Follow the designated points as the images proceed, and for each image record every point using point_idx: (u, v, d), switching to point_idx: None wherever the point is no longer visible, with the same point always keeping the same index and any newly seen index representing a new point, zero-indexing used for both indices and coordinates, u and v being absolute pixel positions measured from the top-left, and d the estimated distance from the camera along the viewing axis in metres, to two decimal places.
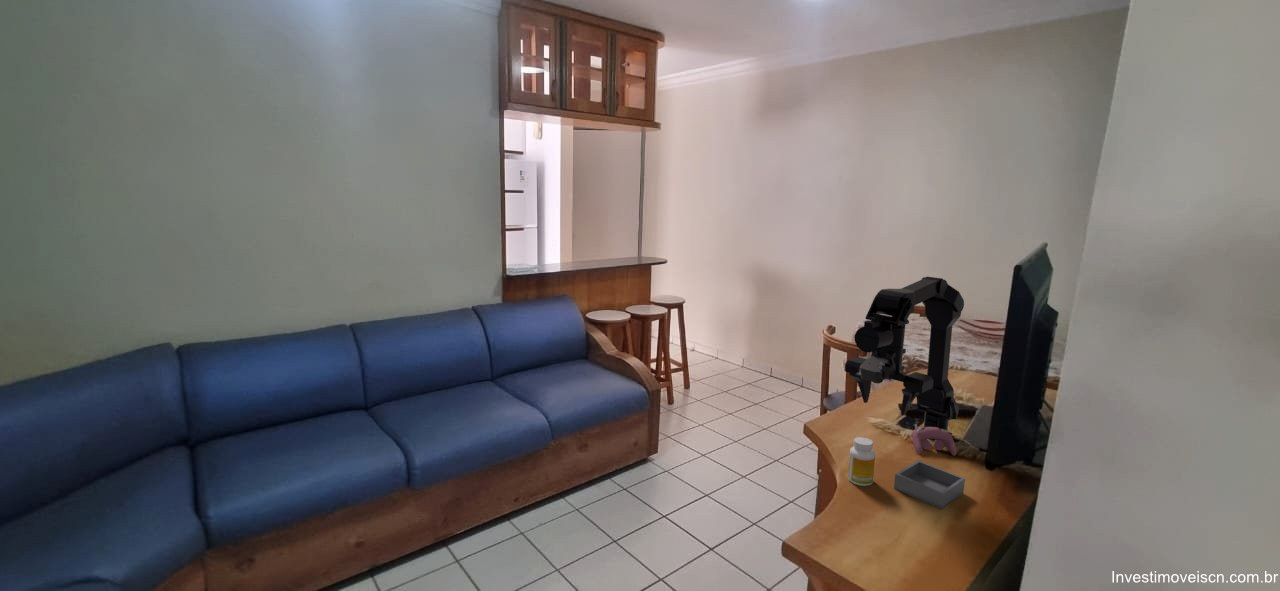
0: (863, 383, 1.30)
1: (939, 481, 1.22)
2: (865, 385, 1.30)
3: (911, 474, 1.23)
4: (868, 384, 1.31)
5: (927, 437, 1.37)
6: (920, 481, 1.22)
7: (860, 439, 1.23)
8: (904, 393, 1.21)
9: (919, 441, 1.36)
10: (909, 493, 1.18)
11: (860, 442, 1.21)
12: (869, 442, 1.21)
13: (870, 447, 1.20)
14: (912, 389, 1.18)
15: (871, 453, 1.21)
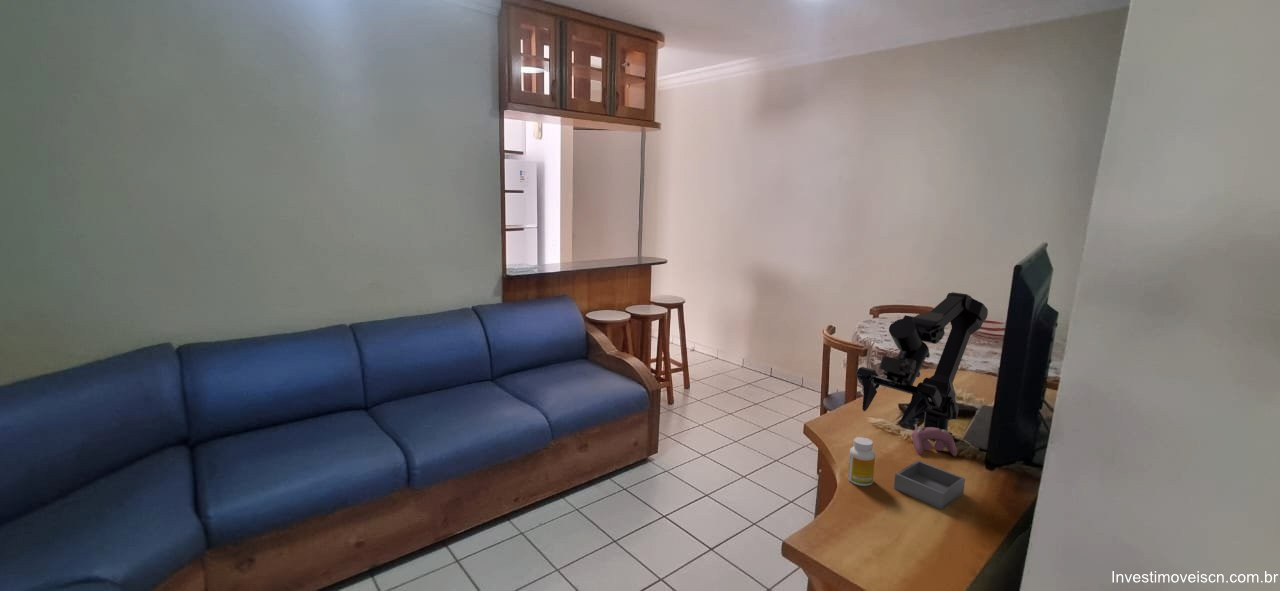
0: (869, 390, 1.31)
1: (939, 481, 1.22)
2: (870, 394, 1.31)
3: (911, 474, 1.23)
4: (871, 396, 1.31)
5: (927, 437, 1.37)
6: (920, 481, 1.22)
7: (860, 439, 1.23)
8: (914, 397, 1.22)
9: (919, 442, 1.36)
10: (909, 493, 1.18)
11: (860, 442, 1.21)
12: (869, 442, 1.21)
13: (870, 447, 1.20)
14: (925, 391, 1.21)
15: (871, 453, 1.21)
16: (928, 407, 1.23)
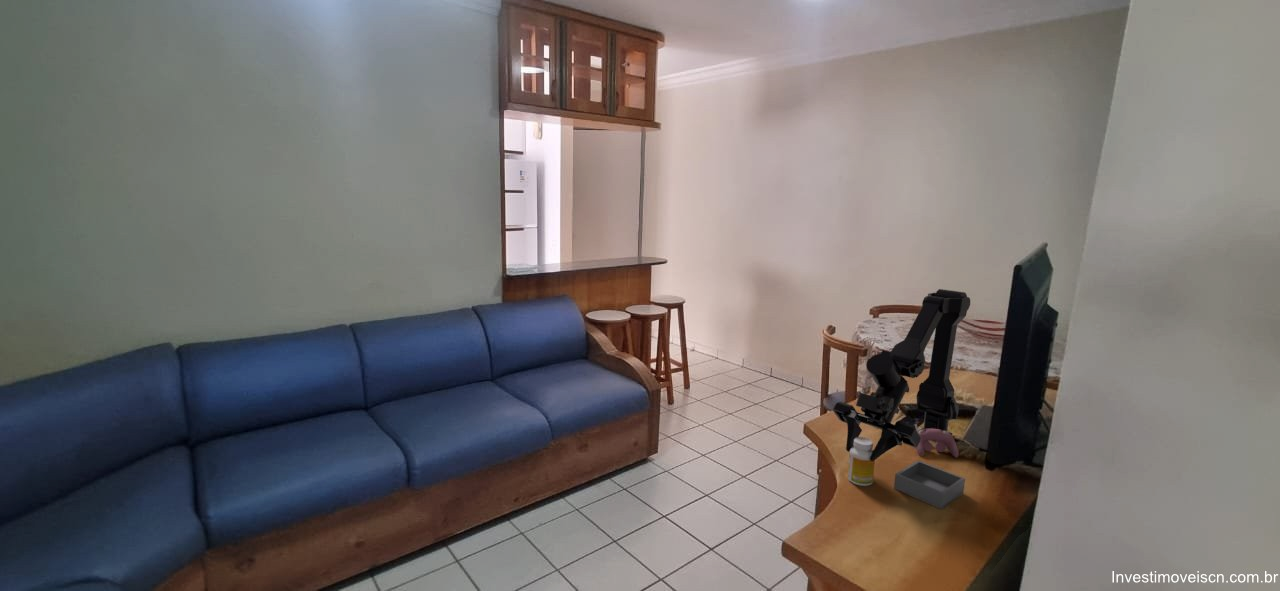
0: (854, 429, 1.25)
1: (939, 481, 1.22)
2: (854, 433, 1.25)
3: (911, 474, 1.23)
4: (856, 436, 1.26)
5: (929, 439, 1.36)
6: (920, 481, 1.22)
7: (860, 439, 1.23)
8: (883, 434, 1.19)
9: (921, 443, 1.35)
10: (909, 493, 1.18)
11: (860, 442, 1.21)
12: (869, 442, 1.21)
13: (870, 447, 1.20)
14: (902, 431, 1.16)
15: (871, 453, 1.21)
16: (898, 444, 1.20)
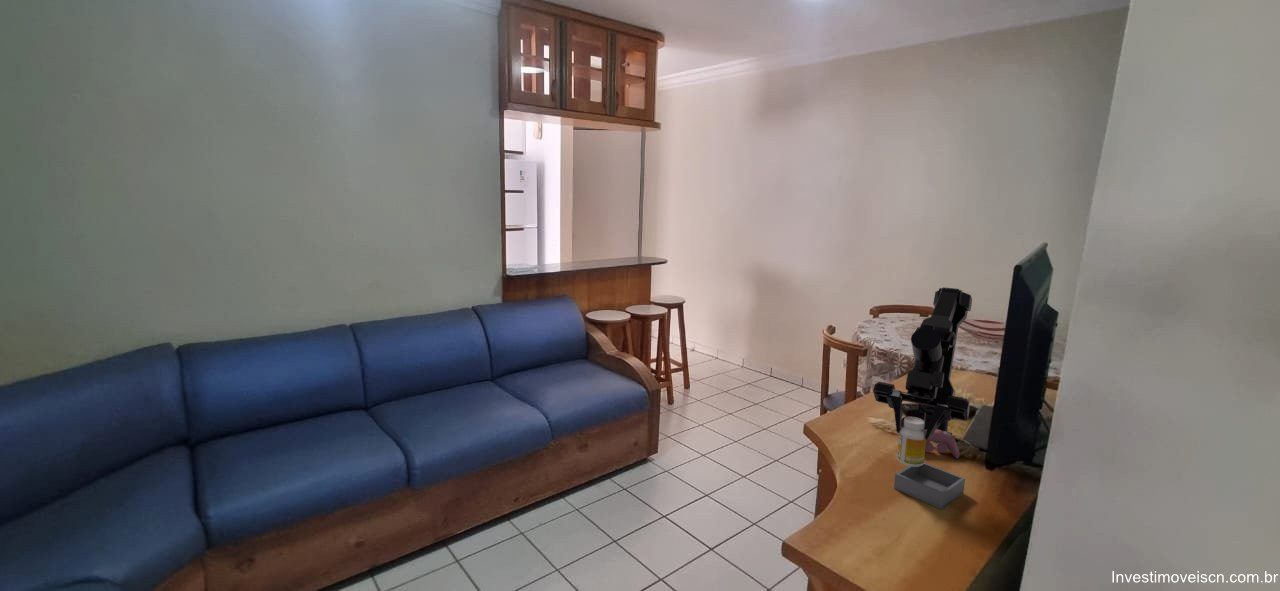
0: (900, 409, 1.20)
1: (939, 481, 1.22)
2: (900, 413, 1.20)
3: (911, 474, 1.23)
4: (901, 415, 1.21)
5: (930, 439, 1.36)
6: (920, 481, 1.22)
7: (910, 419, 1.18)
8: (936, 410, 1.15)
9: None
10: (909, 493, 1.18)
11: (913, 422, 1.16)
12: (921, 421, 1.17)
13: (923, 426, 1.16)
14: (958, 405, 1.13)
15: (924, 432, 1.16)
16: (947, 419, 1.17)
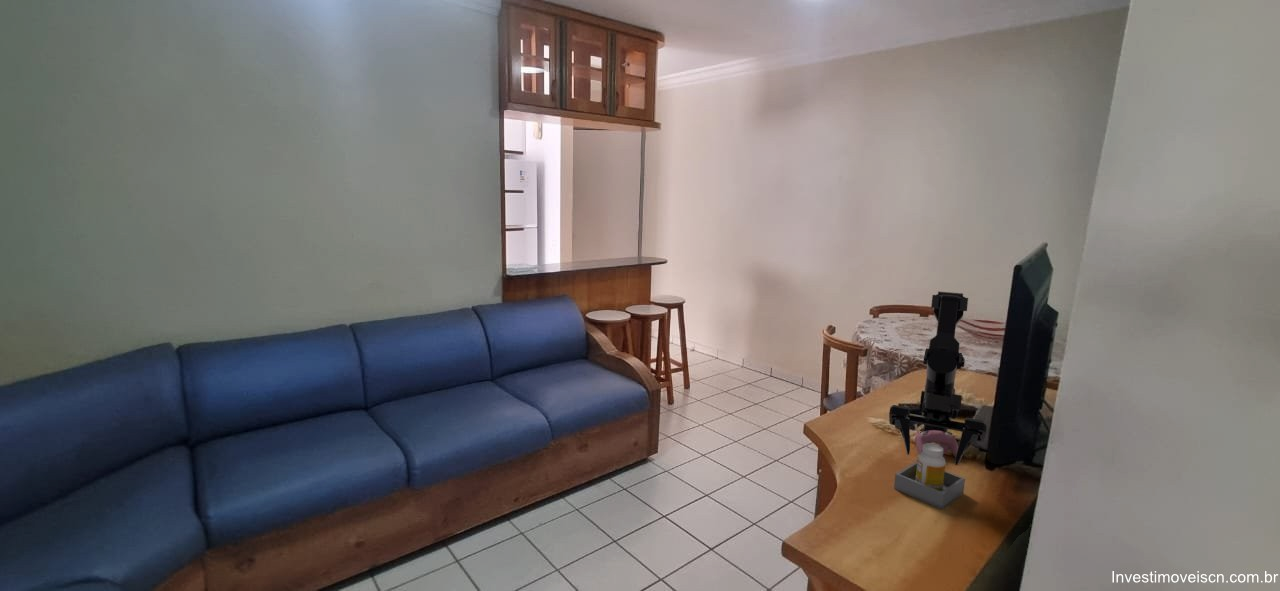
0: (909, 430, 1.21)
1: None
2: (909, 434, 1.21)
3: (911, 474, 1.23)
4: None
5: (931, 441, 1.35)
6: None
7: (928, 445, 1.18)
8: (964, 435, 1.15)
9: None
10: (909, 493, 1.18)
11: (933, 449, 1.16)
12: (939, 447, 1.17)
13: (942, 452, 1.16)
14: (976, 428, 1.14)
15: (943, 458, 1.17)
16: (973, 442, 1.17)
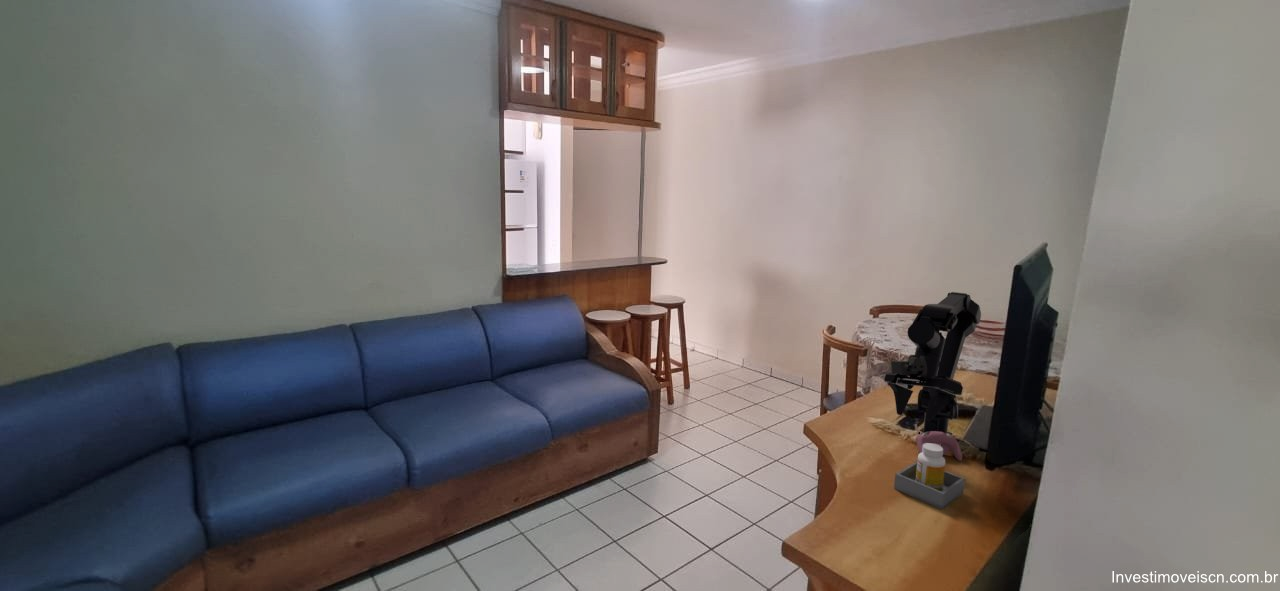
0: (899, 393, 1.34)
1: None
2: (901, 397, 1.34)
3: (911, 474, 1.23)
4: (905, 398, 1.35)
5: (932, 442, 1.35)
6: None
7: (928, 445, 1.18)
8: (930, 393, 1.24)
9: None
10: (909, 493, 1.18)
11: (933, 449, 1.16)
12: (939, 447, 1.17)
13: (942, 452, 1.16)
14: (936, 384, 1.23)
15: (943, 458, 1.17)
16: (952, 397, 1.24)
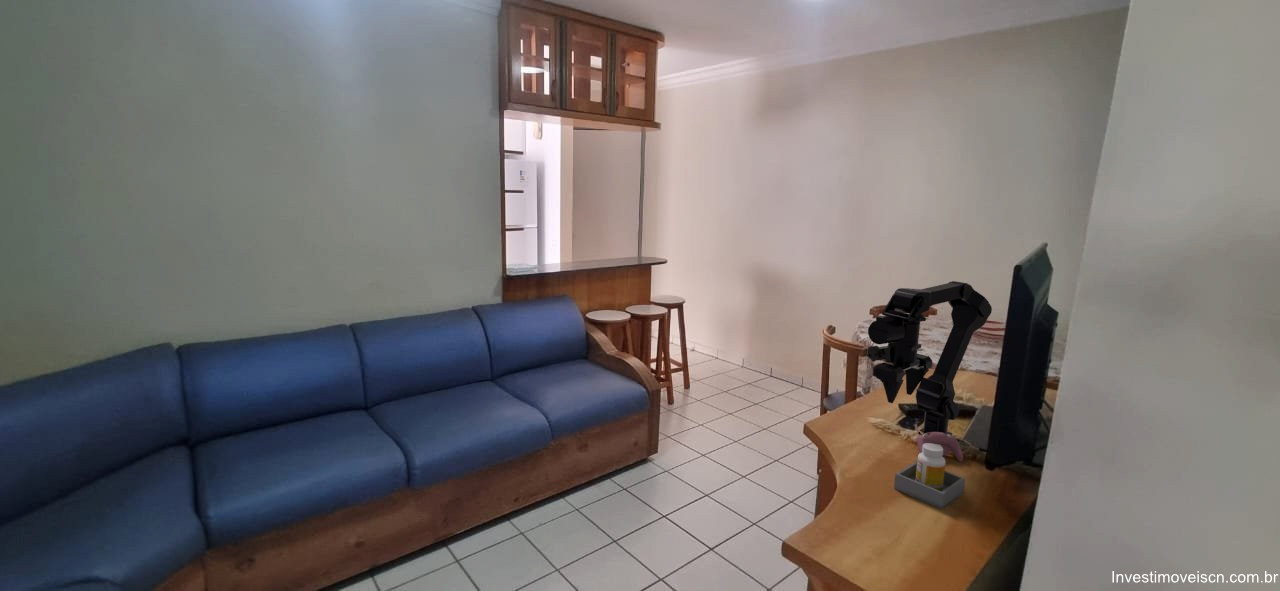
0: (907, 374, 1.41)
1: None
2: (909, 377, 1.40)
3: (911, 474, 1.23)
4: (914, 379, 1.39)
5: (933, 442, 1.34)
6: None
7: (928, 445, 1.18)
8: None
9: None
10: (909, 493, 1.18)
11: (933, 449, 1.16)
12: (939, 447, 1.17)
13: (942, 452, 1.16)
14: None
15: (942, 458, 1.17)
16: None
